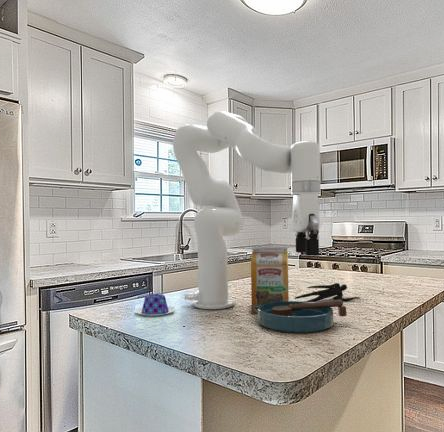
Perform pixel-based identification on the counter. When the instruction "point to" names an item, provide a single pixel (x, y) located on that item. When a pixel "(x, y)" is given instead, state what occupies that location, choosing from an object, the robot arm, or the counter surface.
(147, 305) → the pudding
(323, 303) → the ladle
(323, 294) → the dark humanoid figurine
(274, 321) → the bowl
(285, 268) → the milk carton
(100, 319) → the counter surface
